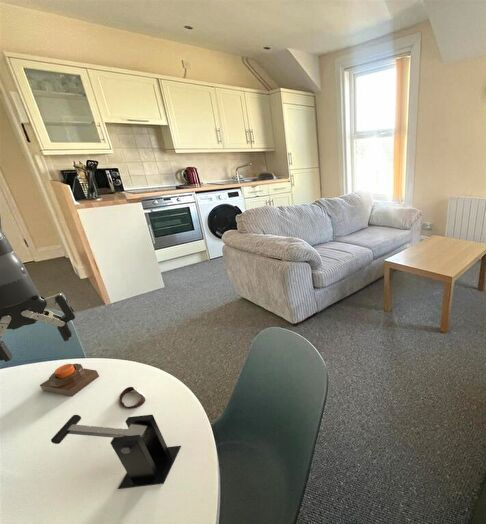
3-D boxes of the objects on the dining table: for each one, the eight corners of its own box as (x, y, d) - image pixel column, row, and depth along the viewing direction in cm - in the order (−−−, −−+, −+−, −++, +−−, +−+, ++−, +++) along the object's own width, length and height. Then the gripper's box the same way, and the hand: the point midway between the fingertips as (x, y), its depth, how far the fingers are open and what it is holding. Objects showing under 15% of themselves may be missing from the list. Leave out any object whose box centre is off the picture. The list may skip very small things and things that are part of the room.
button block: (43, 391, 75) (35, 380, 74) (71, 371, 81) (65, 361, 80) (72, 396, 73) (65, 385, 71) (99, 376, 79) (93, 365, 78)
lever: (51, 445, 48) (49, 435, 47) (73, 421, 52) (71, 412, 51) (136, 452, 50) (136, 443, 49) (151, 428, 54) (151, 419, 53)
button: (53, 377, 74) (50, 372, 74) (68, 367, 78) (65, 362, 77) (64, 379, 74) (61, 374, 73) (78, 369, 77) (76, 364, 76)
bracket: (120, 492, 52) (94, 449, 47) (142, 453, 58) (121, 413, 54) (165, 486, 53) (144, 444, 48) (182, 449, 59) (165, 408, 54)
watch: (152, 401, 70) (147, 391, 69) (130, 416, 67) (125, 405, 65) (137, 389, 74) (132, 378, 73) (116, 402, 71) (111, 391, 69)
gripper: (52, 261, 59) (84, 326, 66) (-58, 285, 51) (-9, 357, 57) (50, 272, 54) (85, 341, 60) (-73, 300, 45) (-18, 377, 52)
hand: (39, 348), depth 59 cm, fingers open, 8 cm apart
